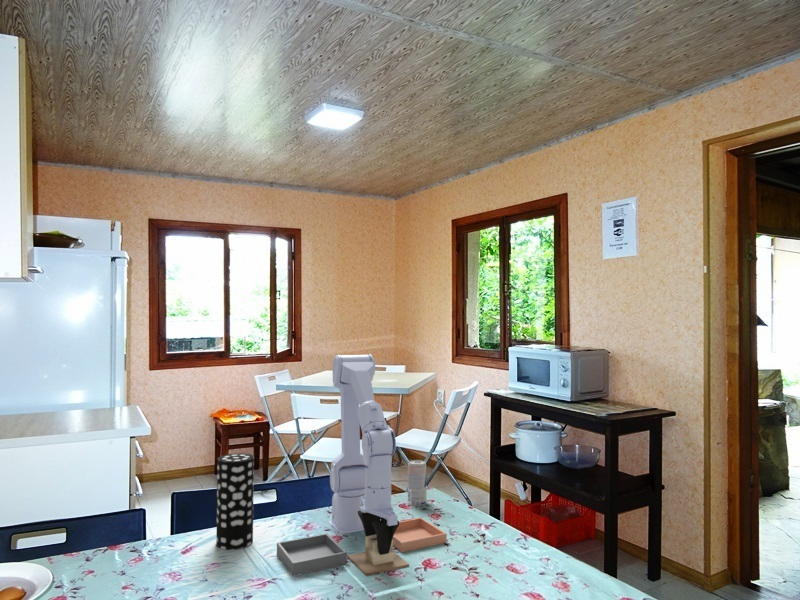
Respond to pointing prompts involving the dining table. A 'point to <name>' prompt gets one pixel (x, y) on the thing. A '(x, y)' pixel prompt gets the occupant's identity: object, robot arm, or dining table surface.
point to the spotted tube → (235, 501)
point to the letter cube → (376, 551)
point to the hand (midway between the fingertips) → (377, 548)
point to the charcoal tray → (311, 554)
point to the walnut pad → (374, 569)
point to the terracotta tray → (417, 535)
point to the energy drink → (417, 482)
